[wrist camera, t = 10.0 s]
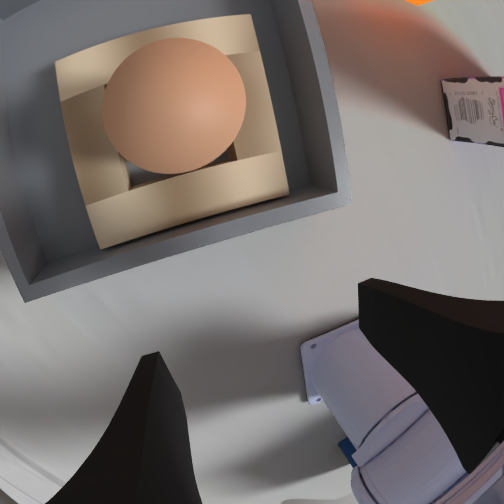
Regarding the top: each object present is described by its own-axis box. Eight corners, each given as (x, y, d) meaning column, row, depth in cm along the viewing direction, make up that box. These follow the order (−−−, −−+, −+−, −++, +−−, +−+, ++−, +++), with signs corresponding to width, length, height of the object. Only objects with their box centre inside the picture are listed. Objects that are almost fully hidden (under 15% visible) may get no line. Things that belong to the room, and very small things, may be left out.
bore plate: (240, 27, 13) (250, 14, 12) (276, 189, 17) (289, 194, 15) (66, 70, 12) (54, 61, 10) (107, 238, 15) (100, 249, 14)
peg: (202, 85, 14) (237, 32, 7) (212, 156, 16) (253, 161, 8) (128, 98, 13) (97, 53, 6) (139, 169, 15) (113, 187, 7)
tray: (260, -49, 12) (281, -79, 8) (317, 192, 19) (352, 203, 15) (-1, 21, 9) (-28, 2, 5) (47, 273, 16) (24, 302, 12)
